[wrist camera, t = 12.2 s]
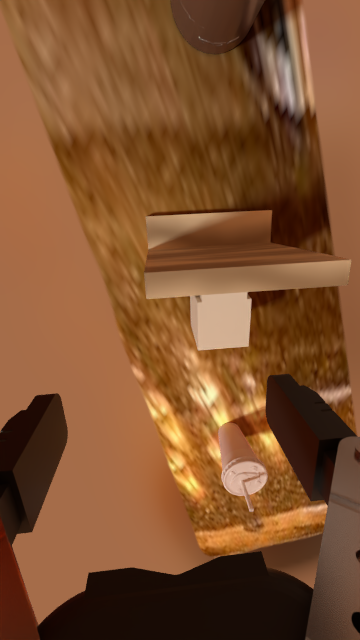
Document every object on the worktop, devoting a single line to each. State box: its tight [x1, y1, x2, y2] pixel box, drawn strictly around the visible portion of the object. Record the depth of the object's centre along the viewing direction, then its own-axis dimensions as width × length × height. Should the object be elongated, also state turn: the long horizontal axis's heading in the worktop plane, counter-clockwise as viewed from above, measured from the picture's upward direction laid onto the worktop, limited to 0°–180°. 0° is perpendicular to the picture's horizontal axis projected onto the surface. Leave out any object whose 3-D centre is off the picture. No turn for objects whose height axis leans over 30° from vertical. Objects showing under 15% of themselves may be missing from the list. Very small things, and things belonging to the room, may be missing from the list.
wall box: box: [190, 292, 252, 350], centre depth 36 cm, size 9×6×7 cm
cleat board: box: [144, 210, 351, 299], centre depth 31 cm, size 8×16×18 cm, turn 93°
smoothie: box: [218, 422, 267, 512], centre depth 43 cm, size 6×6×14 cm
